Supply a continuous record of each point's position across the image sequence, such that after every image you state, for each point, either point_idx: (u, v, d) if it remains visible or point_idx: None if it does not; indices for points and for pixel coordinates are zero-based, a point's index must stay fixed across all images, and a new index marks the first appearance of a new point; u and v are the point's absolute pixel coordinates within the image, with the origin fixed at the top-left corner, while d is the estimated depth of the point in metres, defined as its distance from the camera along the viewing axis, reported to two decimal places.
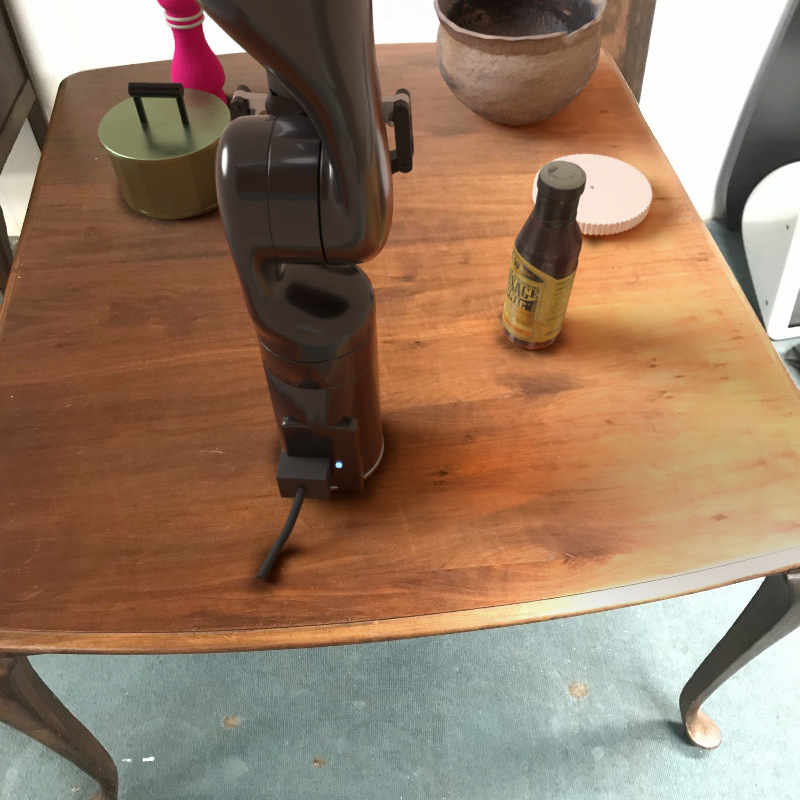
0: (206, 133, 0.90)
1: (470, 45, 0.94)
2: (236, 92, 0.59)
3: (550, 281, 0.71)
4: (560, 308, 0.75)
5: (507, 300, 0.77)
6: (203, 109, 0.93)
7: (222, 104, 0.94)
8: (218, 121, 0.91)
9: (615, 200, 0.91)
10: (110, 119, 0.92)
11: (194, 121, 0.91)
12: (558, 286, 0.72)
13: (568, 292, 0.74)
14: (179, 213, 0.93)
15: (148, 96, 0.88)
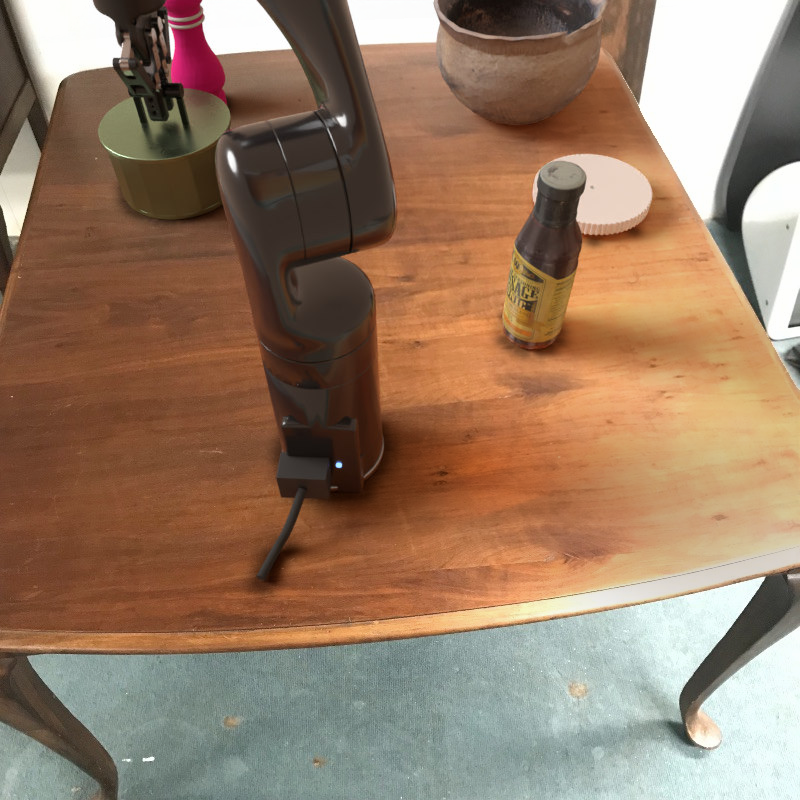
0: (206, 133, 0.90)
1: (470, 45, 0.94)
2: None
3: (550, 281, 0.71)
4: (560, 308, 0.75)
5: (507, 300, 0.77)
6: (203, 109, 0.93)
7: (222, 104, 0.94)
8: (218, 121, 0.91)
9: (615, 200, 0.91)
10: (110, 119, 0.92)
11: (194, 121, 0.91)
12: (558, 286, 0.72)
13: (568, 292, 0.74)
14: (179, 213, 0.93)
15: None
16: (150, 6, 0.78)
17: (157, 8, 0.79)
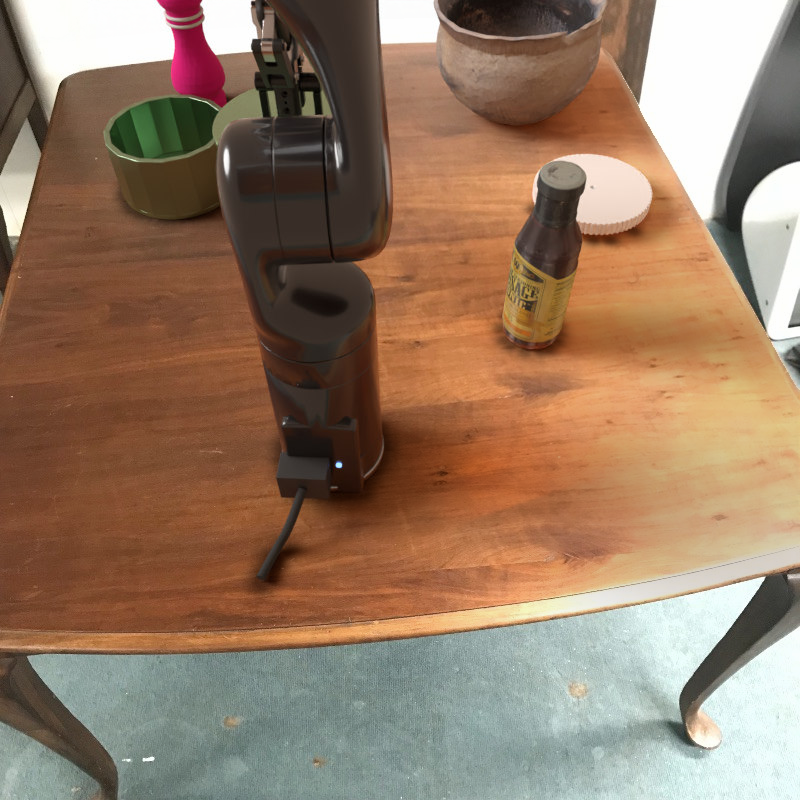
0: None
1: (470, 45, 0.94)
2: None
3: (550, 281, 0.71)
4: (560, 308, 0.75)
5: (507, 300, 0.77)
6: None
7: None
8: None
9: (615, 200, 0.91)
10: (225, 118, 0.74)
11: None
12: (558, 286, 0.72)
13: (568, 292, 0.74)
14: (179, 213, 0.93)
15: None
16: None
17: None
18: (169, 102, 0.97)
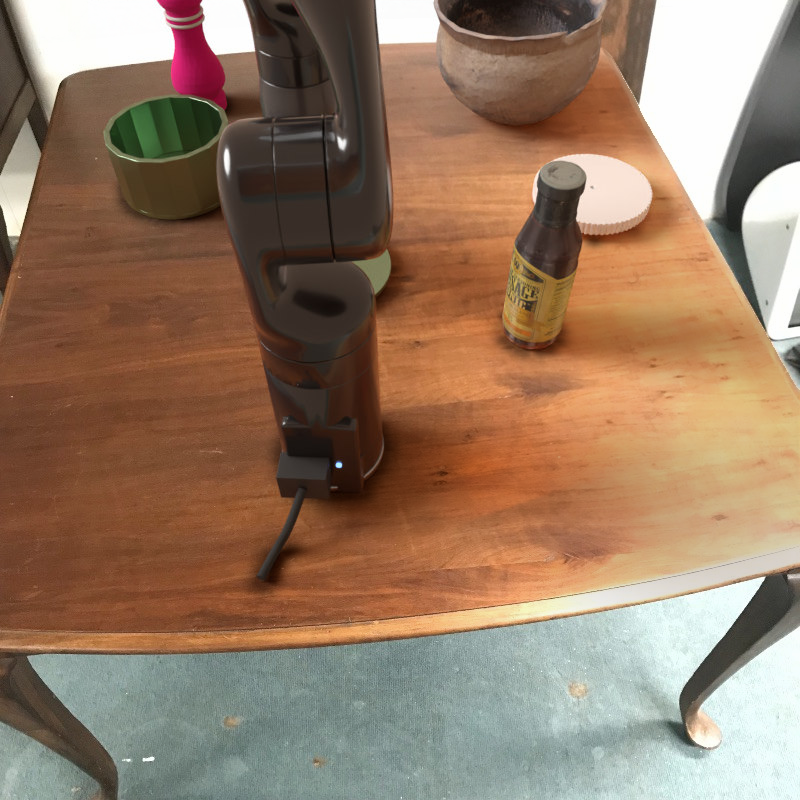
0: None
1: (470, 45, 0.94)
2: None
3: (550, 281, 0.71)
4: (560, 308, 0.75)
5: (507, 300, 0.77)
6: None
7: None
8: (379, 264, 0.86)
9: (615, 200, 0.91)
10: None
11: None
12: (558, 286, 0.72)
13: (568, 292, 0.74)
14: (179, 213, 0.93)
15: None
16: None
17: None
18: (169, 102, 0.97)
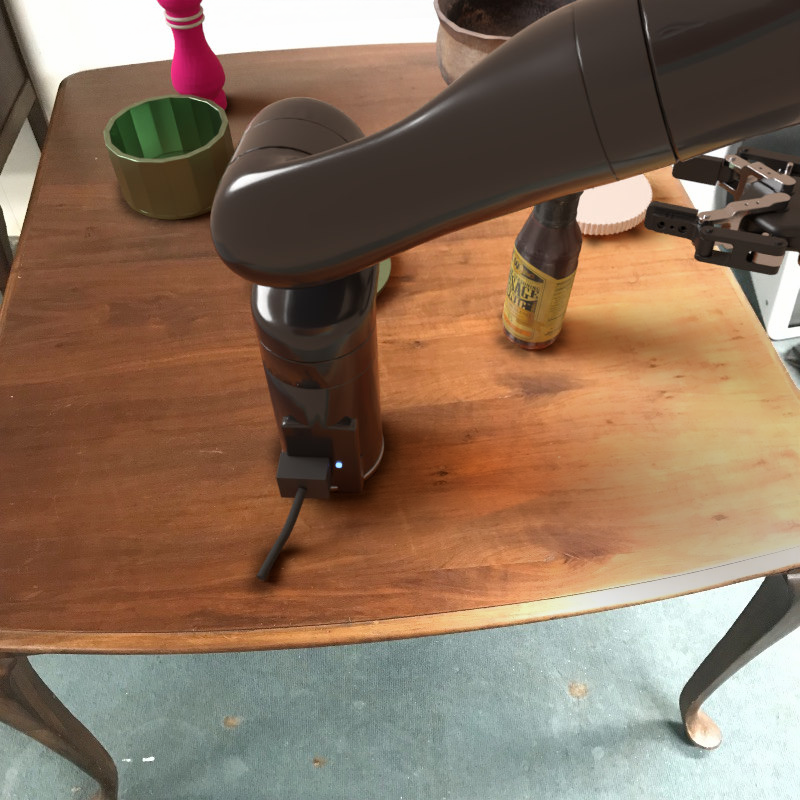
0: None
1: (470, 45, 0.94)
2: None
3: (550, 281, 0.71)
4: (560, 308, 0.75)
5: (507, 300, 0.77)
6: None
7: None
8: None
9: (615, 200, 0.91)
10: None
11: None
12: (558, 286, 0.72)
13: (568, 292, 0.74)
14: (179, 213, 0.93)
15: None
16: None
17: None
18: (169, 102, 0.97)
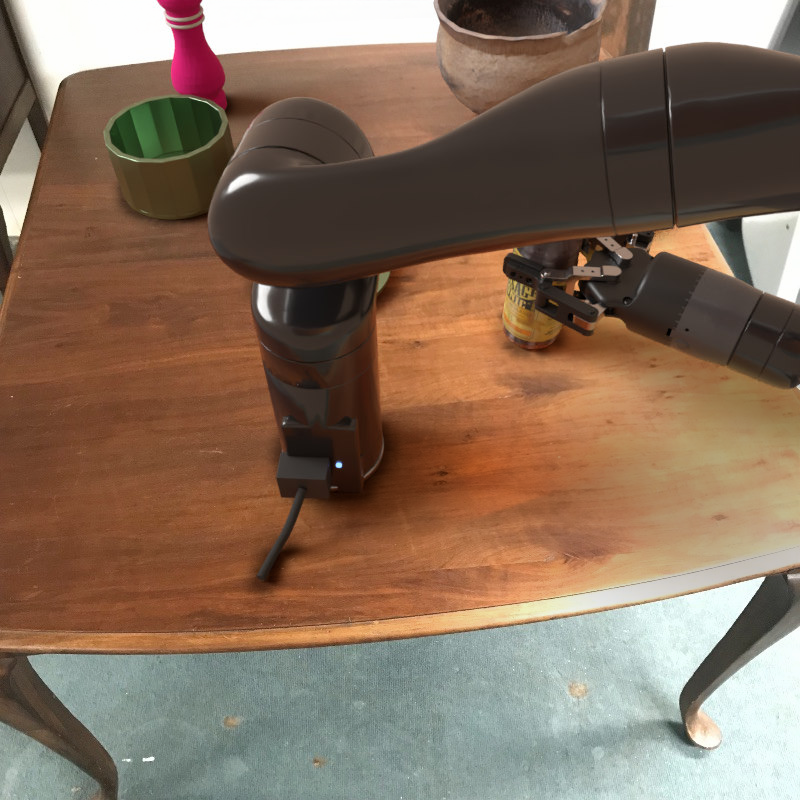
0: None
1: (470, 45, 0.94)
2: None
3: None
4: None
5: (507, 299, 0.77)
6: None
7: None
8: None
9: None
10: None
11: None
12: (558, 285, 0.72)
13: None
14: (179, 213, 0.93)
15: None
16: None
17: None
18: (169, 102, 0.97)
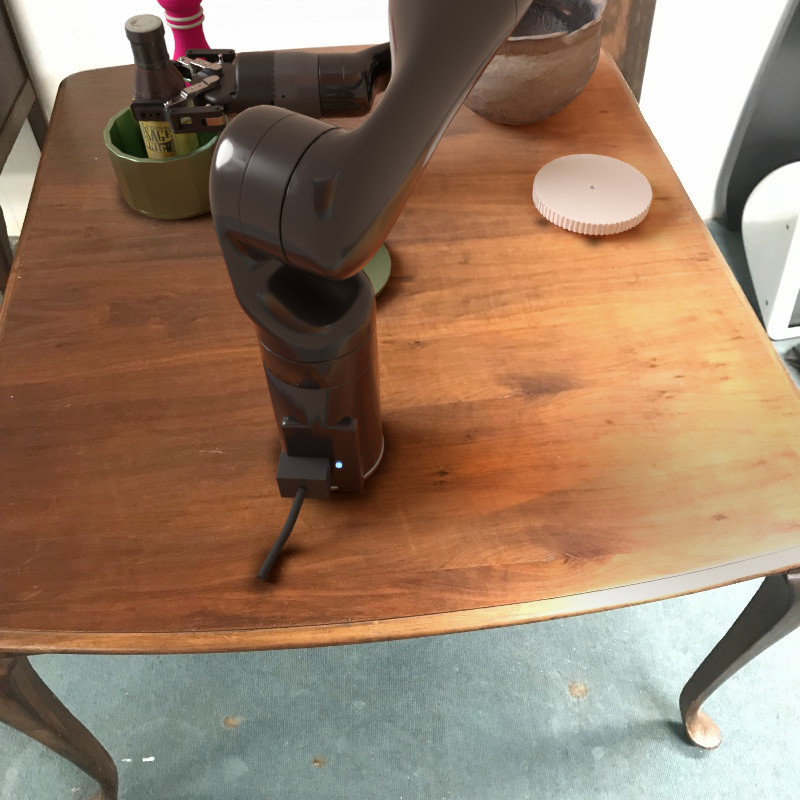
0: None
1: None
2: None
3: None
4: (193, 142, 0.93)
5: (150, 153, 0.92)
6: None
7: None
8: (379, 264, 0.86)
9: (615, 200, 0.91)
10: None
11: None
12: None
13: None
14: (179, 213, 0.93)
15: None
16: None
17: None
18: None
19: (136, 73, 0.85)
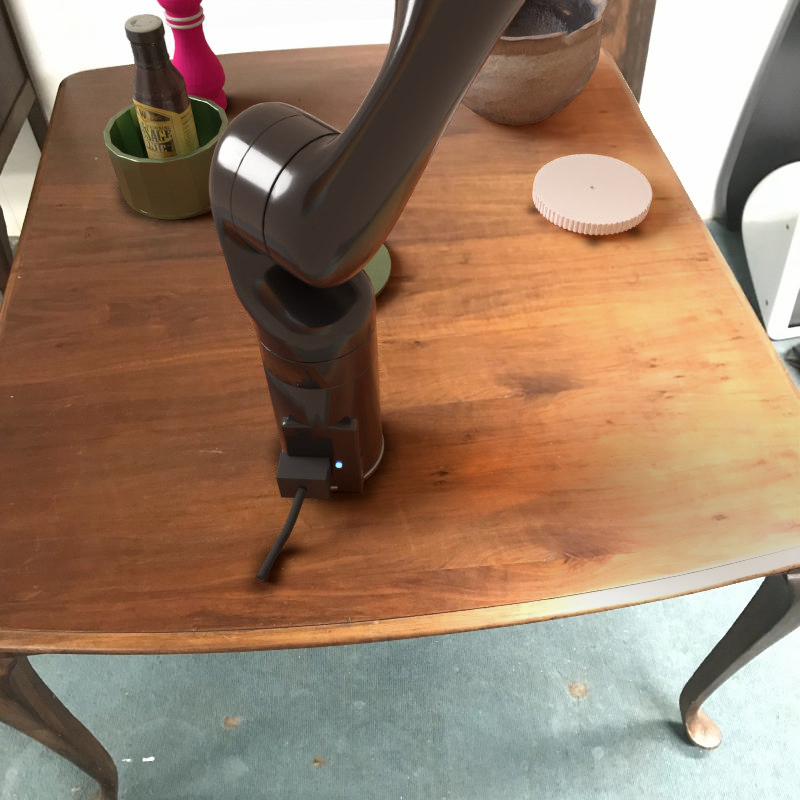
0: None
1: None
2: None
3: (175, 116, 0.88)
4: (193, 142, 0.93)
5: (150, 153, 0.92)
6: None
7: None
8: (379, 264, 0.86)
9: (615, 200, 0.91)
10: None
11: None
12: (183, 120, 0.89)
13: (193, 126, 0.92)
14: (179, 213, 0.93)
15: None
16: None
17: None
18: None
19: (136, 73, 0.85)
